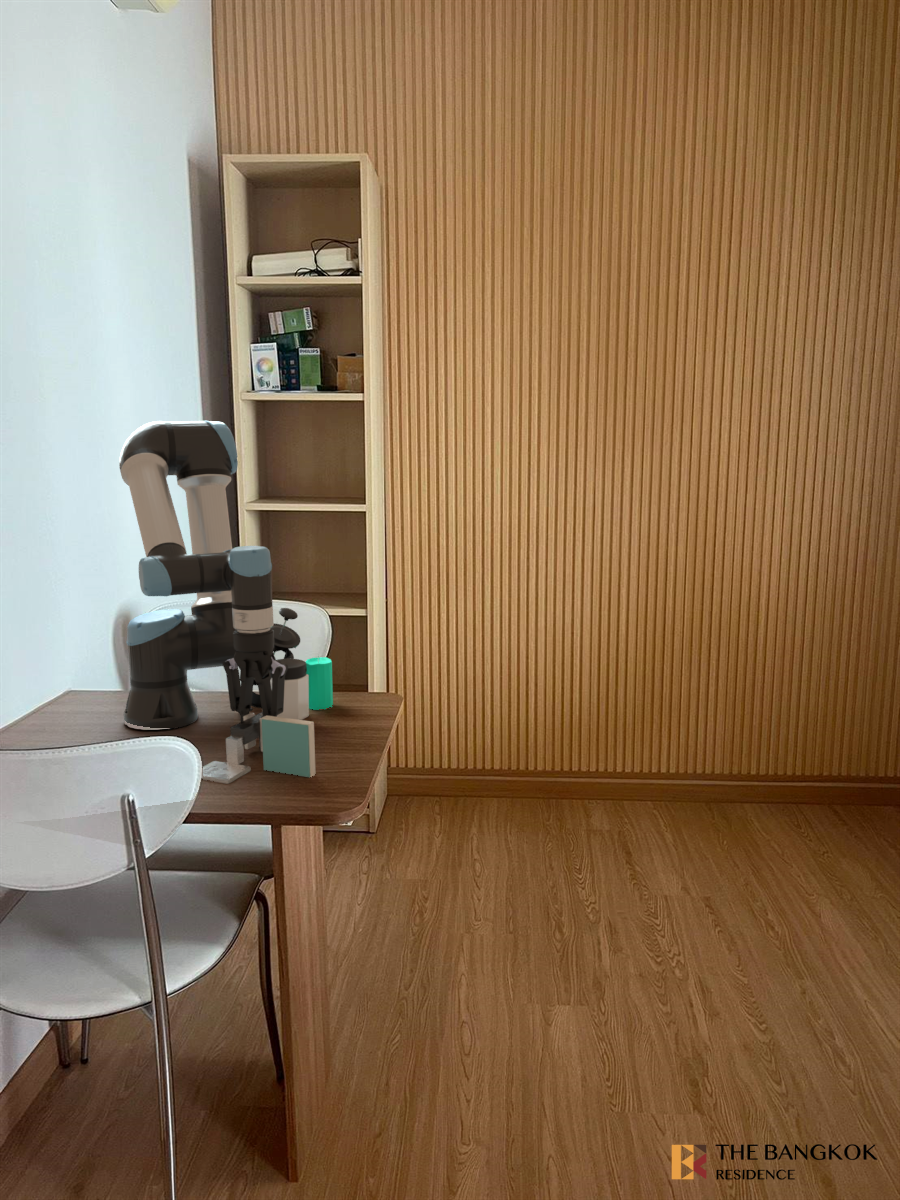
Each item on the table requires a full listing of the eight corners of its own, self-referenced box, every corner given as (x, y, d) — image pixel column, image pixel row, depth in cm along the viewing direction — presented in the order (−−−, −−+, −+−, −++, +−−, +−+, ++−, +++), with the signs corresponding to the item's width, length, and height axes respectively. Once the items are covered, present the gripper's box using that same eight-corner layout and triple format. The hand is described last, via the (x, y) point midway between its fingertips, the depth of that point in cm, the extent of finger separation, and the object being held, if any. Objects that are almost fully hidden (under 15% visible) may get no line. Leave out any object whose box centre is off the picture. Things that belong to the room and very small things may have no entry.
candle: (316, 700, 220) (314, 649, 218) (338, 704, 217) (337, 652, 215) (300, 707, 215) (299, 655, 212) (323, 711, 212) (321, 658, 210)
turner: (254, 743, 191) (253, 709, 190) (289, 748, 188) (287, 714, 187) (190, 777, 173) (188, 740, 172) (227, 783, 170) (226, 746, 169)
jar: (315, 718, 207) (314, 664, 204) (281, 726, 202) (280, 670, 199) (294, 708, 214) (293, 656, 211) (261, 715, 208) (260, 661, 206)
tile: (268, 767, 178) (266, 715, 176) (315, 774, 174) (313, 721, 172) (262, 770, 176) (260, 718, 174) (310, 778, 172) (308, 724, 171)
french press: (289, 706, 217) (320, 623, 207) (254, 714, 210) (285, 628, 200) (260, 675, 223) (289, 593, 213) (226, 681, 216) (254, 597, 206)
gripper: (205, 629, 181) (212, 748, 185) (278, 636, 174) (283, 759, 179) (229, 621, 187) (235, 737, 192) (300, 628, 181) (304, 747, 186)
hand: (258, 747), depth 185 cm, fingers closed on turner, 3 cm apart
